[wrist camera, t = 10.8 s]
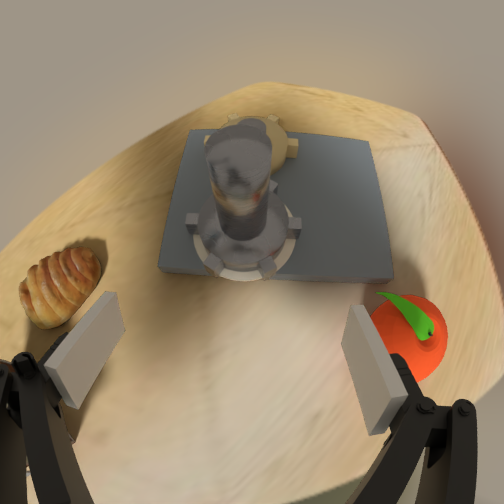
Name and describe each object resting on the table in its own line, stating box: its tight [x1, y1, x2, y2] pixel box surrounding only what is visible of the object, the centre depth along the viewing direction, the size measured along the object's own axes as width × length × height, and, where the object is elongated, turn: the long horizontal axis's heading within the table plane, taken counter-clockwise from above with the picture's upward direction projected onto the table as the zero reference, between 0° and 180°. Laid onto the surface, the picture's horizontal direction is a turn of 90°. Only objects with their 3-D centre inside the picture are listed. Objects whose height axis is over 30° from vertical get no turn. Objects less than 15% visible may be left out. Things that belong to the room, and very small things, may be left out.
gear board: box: [158, 113, 394, 283], centre depth 25 cm, size 20×18×5 cm
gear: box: [185, 125, 302, 281], centre depth 19 cm, size 9×8×10 cm
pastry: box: [19, 247, 101, 329], centre depth 22 cm, size 9×7×4 cm
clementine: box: [370, 292, 448, 382], centre depth 18 cm, size 8×7×7 cm
